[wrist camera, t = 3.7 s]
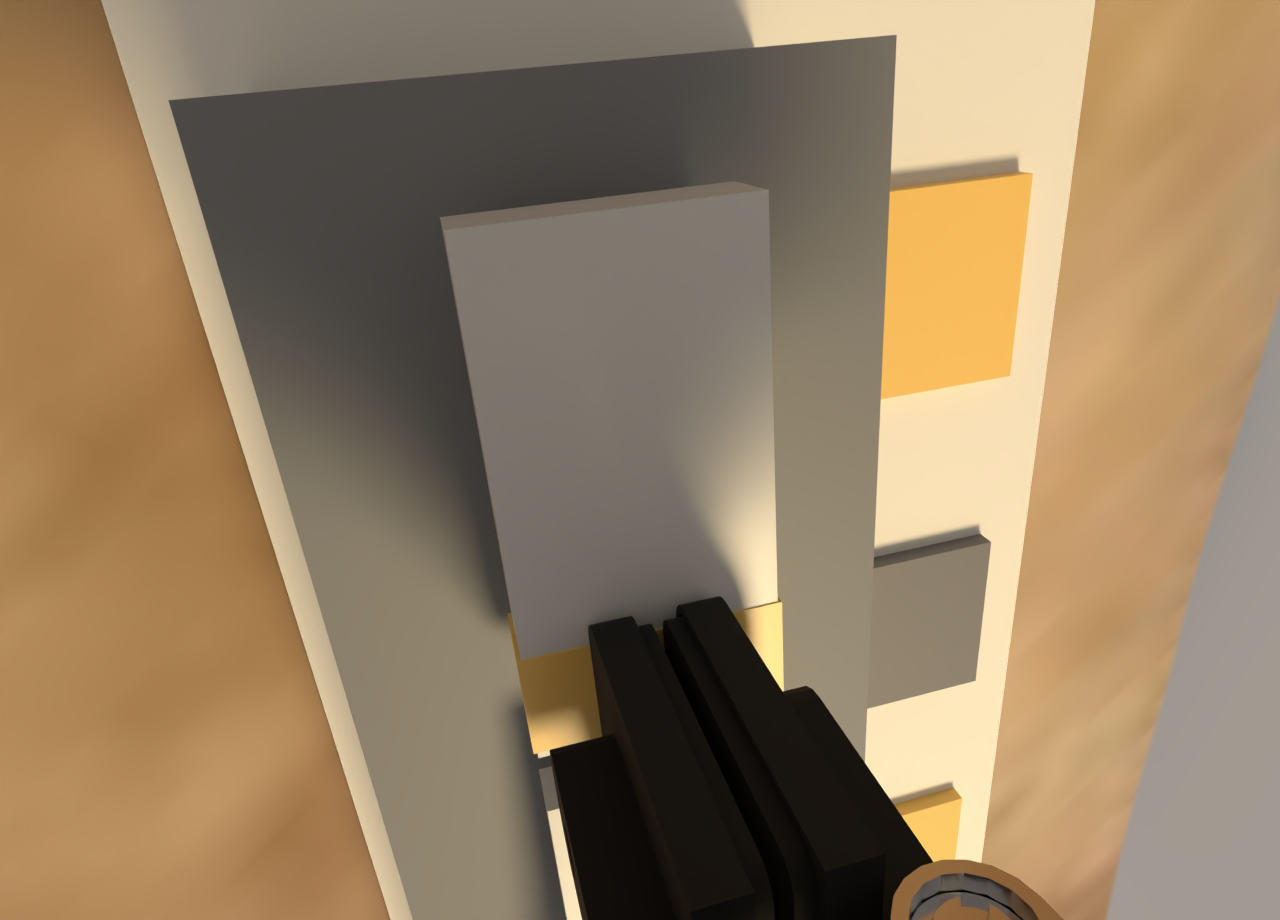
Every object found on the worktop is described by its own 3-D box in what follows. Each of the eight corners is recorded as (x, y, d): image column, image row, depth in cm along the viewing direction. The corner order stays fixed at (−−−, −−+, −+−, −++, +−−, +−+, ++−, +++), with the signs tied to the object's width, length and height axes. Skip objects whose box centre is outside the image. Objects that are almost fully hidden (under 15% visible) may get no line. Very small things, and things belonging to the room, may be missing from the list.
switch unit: (94, -88, 12) (-124, -209, 7) (1072, -136, 15) (1397, -243, 10) (461, 1113, 25) (476, 1366, 20) (947, 954, 28) (1062, 1139, 23)
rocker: (434, 216, 9) (438, 232, 8) (737, 180, 9) (773, 189, 8) (523, 705, 11) (535, 760, 10) (754, 650, 12) (784, 697, 11)
